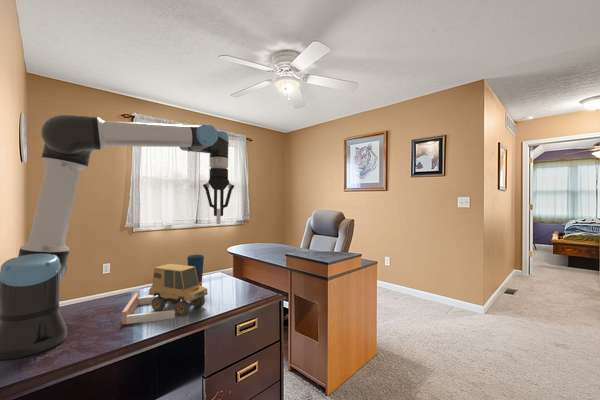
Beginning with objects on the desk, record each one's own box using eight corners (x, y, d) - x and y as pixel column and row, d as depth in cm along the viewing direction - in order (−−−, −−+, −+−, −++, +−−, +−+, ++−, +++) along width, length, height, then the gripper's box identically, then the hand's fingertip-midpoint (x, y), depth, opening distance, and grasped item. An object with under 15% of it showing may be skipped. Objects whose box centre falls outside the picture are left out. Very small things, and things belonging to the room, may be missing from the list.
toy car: (188, 318, 93) (189, 273, 93) (146, 310, 100) (146, 268, 100) (209, 307, 103) (209, 266, 103) (169, 300, 110) (169, 262, 110)
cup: (201, 287, 127) (202, 253, 127) (205, 291, 121) (205, 256, 121) (185, 289, 123) (186, 255, 123) (188, 293, 118) (188, 258, 118)
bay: (121, 324, 88) (122, 311, 88) (134, 304, 105) (135, 293, 105) (174, 318, 93) (174, 306, 93) (178, 299, 111) (178, 289, 111)
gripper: (202, 166, 113) (202, 224, 113) (235, 168, 117) (235, 224, 117) (202, 168, 120) (202, 223, 120) (233, 169, 124) (233, 223, 124)
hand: (218, 223), depth 119 cm, fingers closed
